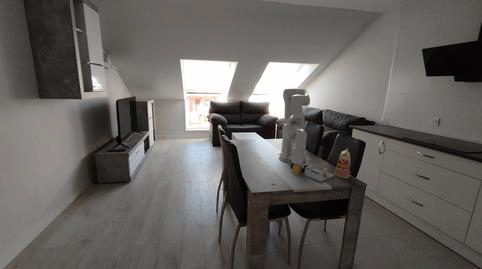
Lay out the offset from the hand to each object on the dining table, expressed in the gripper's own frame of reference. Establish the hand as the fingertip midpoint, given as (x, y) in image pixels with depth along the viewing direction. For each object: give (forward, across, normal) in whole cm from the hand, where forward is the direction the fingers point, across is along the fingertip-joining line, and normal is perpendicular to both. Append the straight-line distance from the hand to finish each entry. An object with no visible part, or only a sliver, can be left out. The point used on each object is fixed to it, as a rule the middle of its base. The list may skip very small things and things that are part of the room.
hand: (297, 170), depth 167 cm
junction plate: (+2, +12, +8) cm, 15 cm away
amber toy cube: (+2, 0, 0) cm, 2 cm away
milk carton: (+2, +22, +24) cm, 33 cm away
